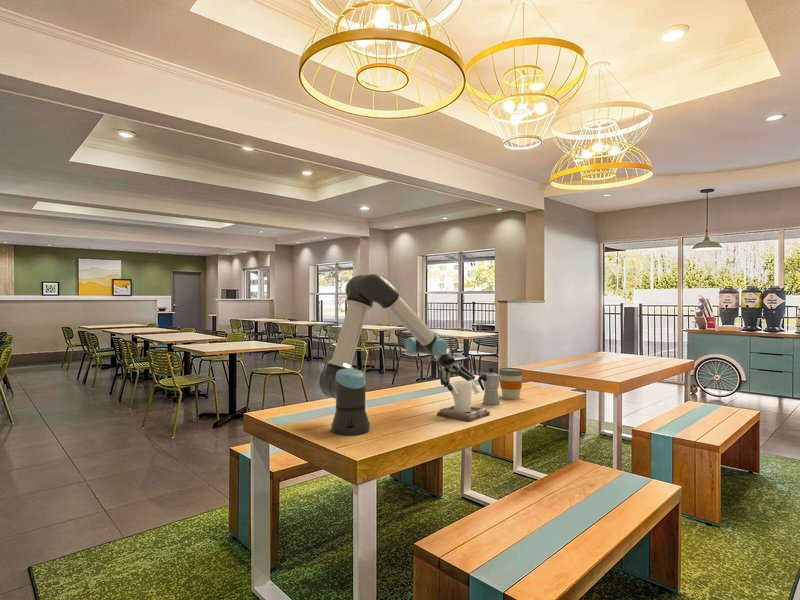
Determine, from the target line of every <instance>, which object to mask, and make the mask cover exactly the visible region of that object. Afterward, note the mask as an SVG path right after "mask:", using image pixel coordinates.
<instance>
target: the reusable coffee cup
mask: <svg viewBox="0 0 800 600" xmlns="http://www.w3.org/2000/svg"><path fill="white" fill-rule="evenodd" d="M523 371H524V370H523V369H522V368H518V367H501V368H499V371H498V375H501V376H500V380H499V386H500V387H499V388H500V389H501V395H502V396H501V397H502V398H503V399H509V400H510V399H511V400H515V399H516V400H518V399H520V397H521V389H522V386H523V375H524V374H523V373H524V372H523Z"/></svg>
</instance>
